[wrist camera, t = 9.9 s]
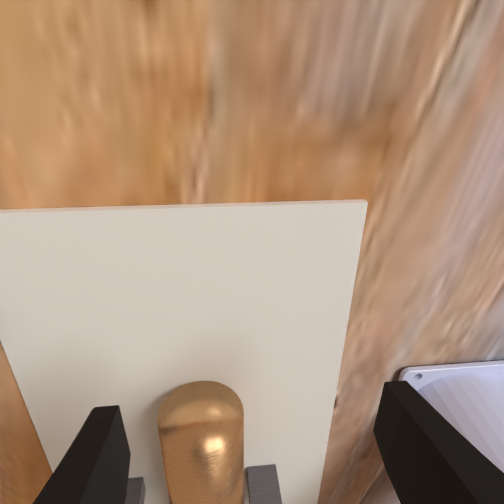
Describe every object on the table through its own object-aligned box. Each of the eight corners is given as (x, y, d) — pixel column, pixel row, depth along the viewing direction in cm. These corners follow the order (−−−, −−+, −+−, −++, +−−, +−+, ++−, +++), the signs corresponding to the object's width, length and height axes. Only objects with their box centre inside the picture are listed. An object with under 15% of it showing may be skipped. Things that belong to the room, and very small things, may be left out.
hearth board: (364, 199, 18) (367, 202, 18) (312, 520, 32) (313, 525, 31) (-44, 210, 16) (-50, 214, 16) (85, 545, 30) (83, 551, 30)
